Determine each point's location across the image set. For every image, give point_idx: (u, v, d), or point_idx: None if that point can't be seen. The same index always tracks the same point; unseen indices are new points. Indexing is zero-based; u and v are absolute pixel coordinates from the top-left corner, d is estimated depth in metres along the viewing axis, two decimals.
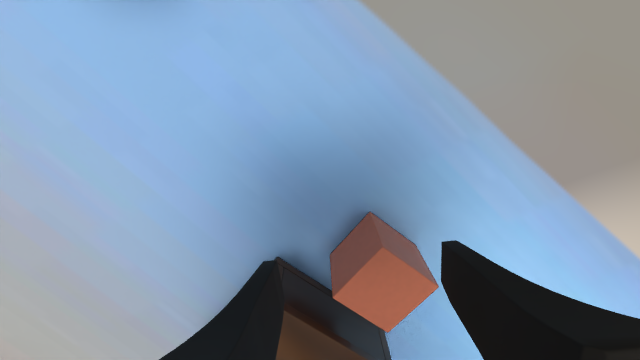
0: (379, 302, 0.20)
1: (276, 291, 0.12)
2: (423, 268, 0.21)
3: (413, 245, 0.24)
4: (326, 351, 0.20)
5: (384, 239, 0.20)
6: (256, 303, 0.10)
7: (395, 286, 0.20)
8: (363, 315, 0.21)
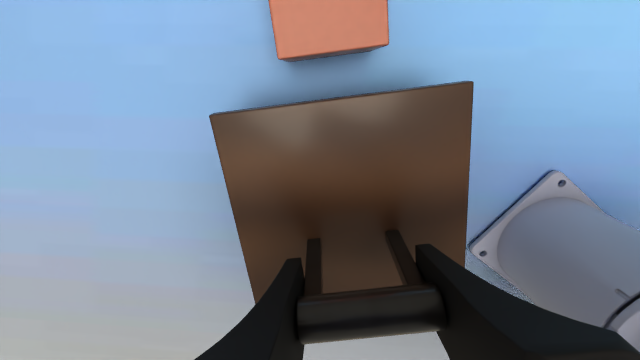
0: (335, 9, 0.13)
1: (301, 288, 0.12)
2: None
3: None
4: (327, 125, 0.14)
5: None
6: (288, 299, 0.10)
7: None
8: (334, 47, 0.13)
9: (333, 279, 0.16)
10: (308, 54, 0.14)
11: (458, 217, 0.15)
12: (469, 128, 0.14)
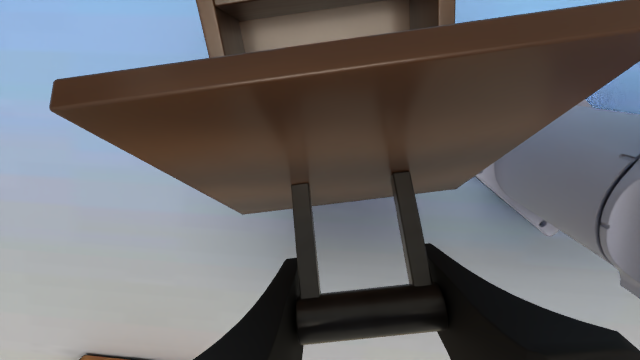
0: None
1: None
2: None
3: None
4: (327, 104, 0.06)
5: None
6: (287, 300, 0.10)
7: None
8: None
9: (322, 196, 0.14)
10: None
11: (491, 158, 0.11)
12: (596, 90, 0.07)
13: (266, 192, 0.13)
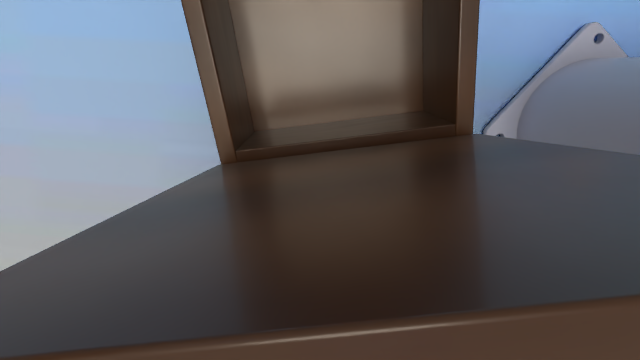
0: None
1: None
2: None
3: None
4: None
5: None
6: None
7: None
8: None
9: None
10: None
11: None
12: None
13: None
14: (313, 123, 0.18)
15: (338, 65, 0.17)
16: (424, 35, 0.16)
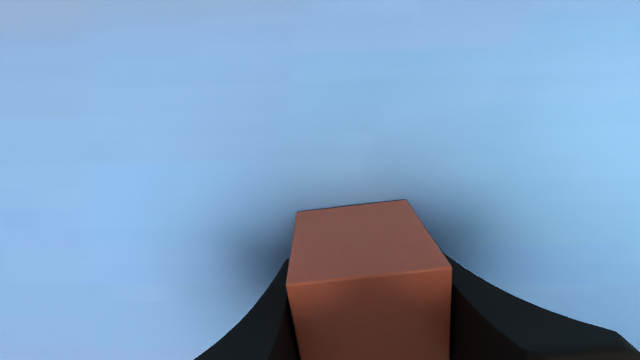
0: (382, 357, 0.10)
1: None
2: (409, 247, 0.10)
3: (397, 205, 0.13)
4: None
5: (305, 255, 0.10)
6: (287, 300, 0.10)
7: (377, 320, 0.10)
8: None
9: None
10: None
11: None
12: None
13: None
14: None
15: None
16: None
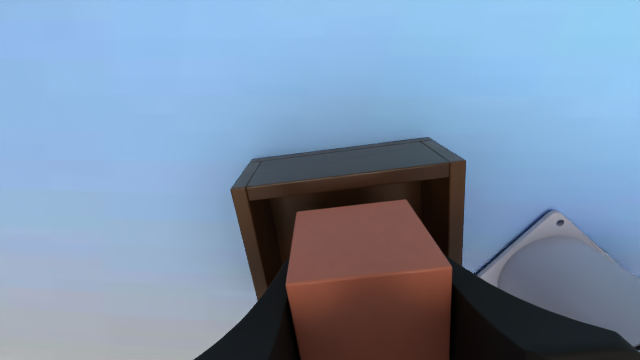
0: (383, 357, 0.10)
1: None
2: (409, 247, 0.10)
3: (397, 205, 0.13)
4: None
5: (305, 255, 0.10)
6: (287, 299, 0.10)
7: (376, 320, 0.10)
8: None
9: None
10: None
11: None
12: None
13: None
14: None
15: None
16: None
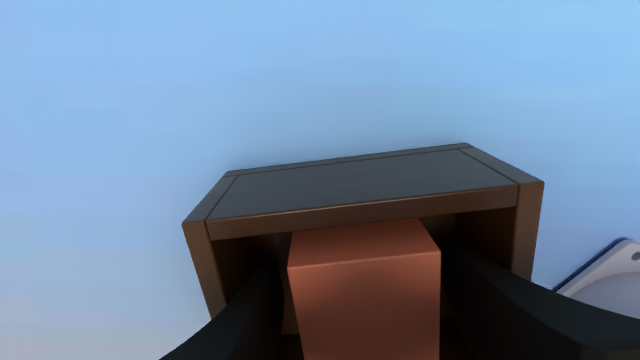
0: (377, 337, 0.11)
1: (276, 291, 0.12)
2: (402, 235, 0.11)
3: None
4: None
5: (305, 242, 0.11)
6: (257, 303, 0.10)
7: (371, 302, 0.10)
8: None
9: None
10: None
11: None
12: None
13: None
14: None
15: None
16: None
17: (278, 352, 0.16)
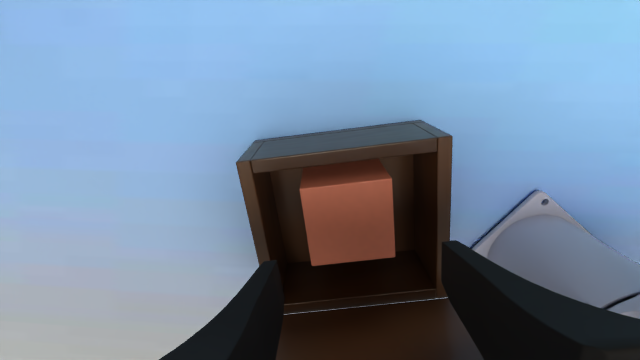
0: (355, 237, 0.17)
1: (276, 291, 0.12)
2: (371, 173, 0.17)
3: None
4: None
5: (310, 178, 0.18)
6: (256, 303, 0.10)
7: (351, 212, 0.17)
8: (354, 259, 0.18)
9: None
10: (334, 263, 0.18)
11: None
12: None
13: None
14: None
15: None
16: (415, 204, 0.22)
17: (290, 271, 0.23)
